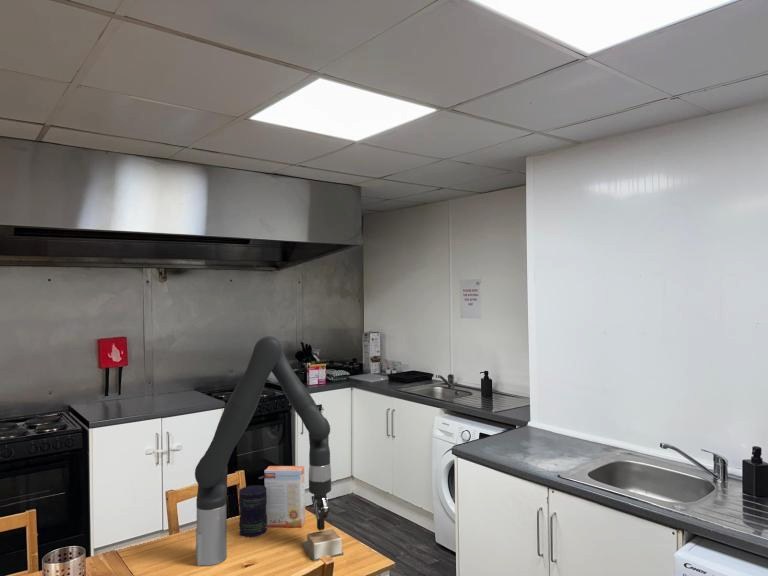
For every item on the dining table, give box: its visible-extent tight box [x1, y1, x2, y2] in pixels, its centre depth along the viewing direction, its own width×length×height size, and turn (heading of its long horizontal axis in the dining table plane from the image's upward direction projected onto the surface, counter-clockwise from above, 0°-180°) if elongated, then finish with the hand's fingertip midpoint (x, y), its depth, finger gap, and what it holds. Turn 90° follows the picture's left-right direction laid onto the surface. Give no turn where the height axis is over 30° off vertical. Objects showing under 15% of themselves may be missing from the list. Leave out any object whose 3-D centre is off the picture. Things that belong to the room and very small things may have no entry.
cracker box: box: [263, 465, 306, 528], centre depth 194 cm, size 14×6×21 cm, turn 84°
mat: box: [301, 540, 344, 562], centre depth 173 cm, size 10×14×1 cm
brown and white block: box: [306, 528, 343, 559], centre depth 171 cm, size 9×4×9 cm
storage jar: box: [238, 484, 268, 539], centre depth 188 cm, size 10×10×15 cm
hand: (320, 529), depth 174 cm, fingers closed
